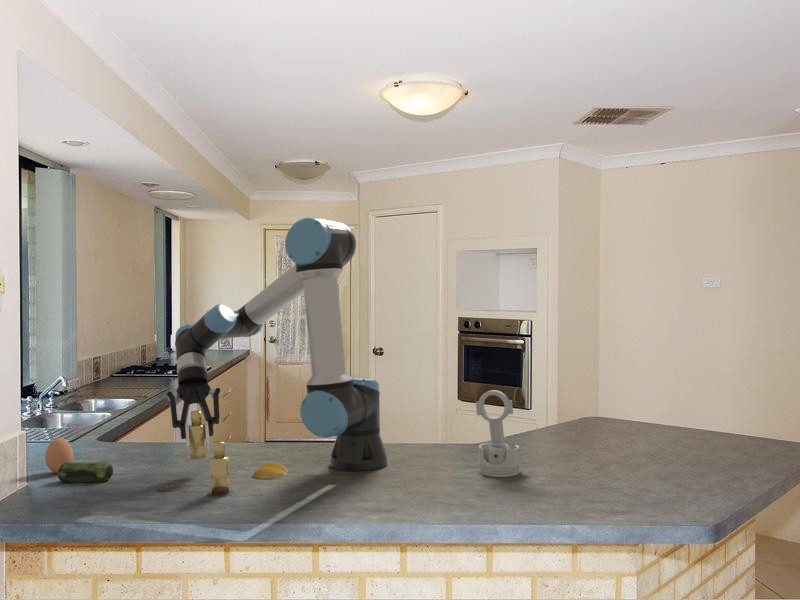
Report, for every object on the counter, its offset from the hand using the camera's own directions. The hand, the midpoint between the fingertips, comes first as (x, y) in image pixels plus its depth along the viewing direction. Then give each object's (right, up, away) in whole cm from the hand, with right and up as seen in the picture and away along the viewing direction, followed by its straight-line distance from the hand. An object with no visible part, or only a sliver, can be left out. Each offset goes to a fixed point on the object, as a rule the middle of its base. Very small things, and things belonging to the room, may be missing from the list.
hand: (198, 447), depth 167 cm
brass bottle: (-1, -3, +4) cm, 5 cm away
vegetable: (-30, -10, +6) cm, 32 cm away
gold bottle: (+9, -8, -13) cm, 17 cm away
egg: (-41, -10, +14) cm, 44 cm away
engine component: (+74, -8, +6) cm, 74 cm away
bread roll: (+17, -9, +4) cm, 20 cm away
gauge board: (+2, -9, -10) cm, 14 cm away
